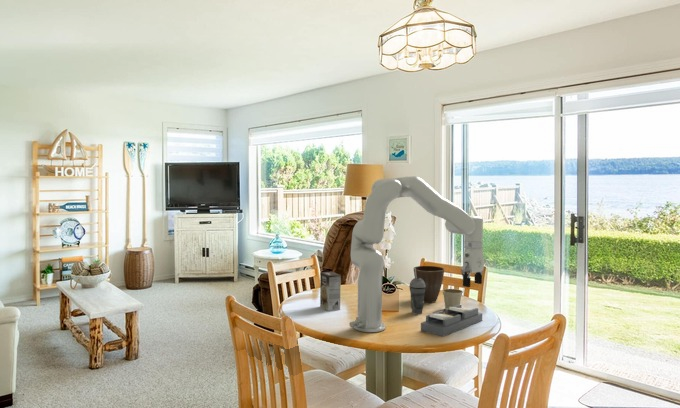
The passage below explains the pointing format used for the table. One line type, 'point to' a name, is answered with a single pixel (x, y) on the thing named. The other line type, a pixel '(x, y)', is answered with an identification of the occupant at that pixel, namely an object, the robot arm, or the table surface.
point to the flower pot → (452, 297)
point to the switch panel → (451, 321)
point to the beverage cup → (417, 294)
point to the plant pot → (430, 281)
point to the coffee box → (330, 291)
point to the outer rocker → (458, 309)
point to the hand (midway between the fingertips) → (472, 285)
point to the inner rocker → (440, 316)
